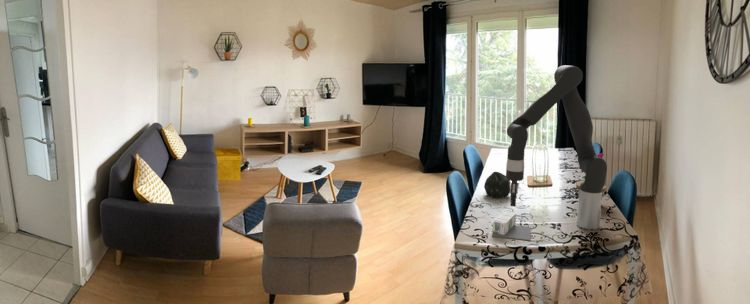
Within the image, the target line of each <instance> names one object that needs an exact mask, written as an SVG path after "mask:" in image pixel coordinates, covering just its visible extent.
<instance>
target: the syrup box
mask: <svg viewBox="0 0 750 304" xmlns="http://www.w3.org/2000/svg"><path fill="white" fill-rule="evenodd" d="M516 219H517V213H515V212H510V211H503V212H502V213H501V214H500V215H499V216H497V217H496V218H494V219H493V220H492V221H493V222H492V233H497V234H501V235H505V234H506V233H507V232H508V231H509V230H510V229H511V228H512V227H513V226H514V225H516Z"/></svg>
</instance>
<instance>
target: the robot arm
mask: <svg viewBox="0 0 750 304" xmlns="http://www.w3.org/2000/svg"><path fill="white" fill-rule="evenodd" d="M553 75H554V77H553V79H554V82H555V84H554V85H553V86H552V87H551V88H550V89H549V90H548V91H547V92H546V93H543V95H541V96H540V97H539V98H537V99H536V100H535V101H534V102H533V103H531V104H530V105H529V107H528V108H527V109H526V110H525V111H524V112H523V113H522V114H520V115H519V116H518V117H516V119H514V120H513V121H512V122H511V123H510V124H509V126H508V127H507V129H506V134H507V137H509V138H510V139H511V141H510V145H509V146H508V148H507V158H506V168H505V176H506V179H508V180H510V181H511V182H510V185H509V187H510V193H509V195H510V196H509V198H510V207H516V204H517V196H518V194H519V193H518V192H519V188H520V182H521V181H524V173H525V150H526V145H527V142H528V137H529V133H528V128H530V127H531V126H535V125H537V124H538V122H540V120H542V118H543V117H544V116H545V115H546V114H547V113H548V111H550V110H551V109H552V108H553V107H554V106H555V105H556V104H557V103H558V102H559V101H560V100H562V104H563V107H564V112H565V116H566V119H567V123H568V127H569V130H570V133H571V137H572V138H573V142H574V146H575V149H576V155H577V160H578V166H579V168H580V170H581V172H583V173H584V176H585V179H584V182H582V183H581V184H580V192H579V195H578V205H577V215H576V216H577V217H576V226H577V225H578V226H577V227H578V228H581V227H582V228H581V229H584V228H586V229H585V230H591V229H593V230H596V229H595V228H599V229H600V226H601V225H600V224H601V215H602V207H601V206H602V201H601V198H602V199H603V197H602V189H603V187H604V185H606V179H607V173H608V172H607V171H608V164H607V162H606V160H605V159H603V157H602V158H600V157H598V156H597V155H598V154H597V153H596V151H595V147H594V145H593V132H594V125H593V121H592V117H591V115H590V111H589V109H588V107H587V106H586V104H585V102H584V101H583V100H582V98H581V96H580V93H579V91H578V88H577V86H578V85H579V84H581V82H582V81H583V76H584V75H583V71H582V69H580V67H577V66H576V65H575V66H574V65H566V64H565V65H560V66H559V67H557V68H556V69H555V72H554V74H553Z"/></svg>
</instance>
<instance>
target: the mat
mask: <svg viewBox="0 0 750 304" xmlns="http://www.w3.org/2000/svg"><path fill="white" fill-rule="evenodd" d="M491 234H492V235H491V237H492V238H500V239H501V238H502V239H509V240H510V239H512V240H519V241H520V240H521V241H527V242H528V241H529V242H531V226H524V225H516V224H515V225H514V226H513V227H512V228H511V229H510V230H509V231H508V232H507V233H506V234H505V235H501V234H497V233H493V232H492V233H491Z"/></svg>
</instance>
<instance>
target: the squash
mask: <svg viewBox="0 0 750 304" xmlns="http://www.w3.org/2000/svg"><path fill="white" fill-rule="evenodd" d="M485 179H486V180H485V182H484V186H483V187H484V190H485V194H486V195H487V196H488V197H491V198H499V199H503V198H507V197H508V196H509V195H510V187H509V185H510V182H512V181H511V180H508V179H506V174H504V173H501V172H499V171H493V172H491V174H490V175H488V176H487V177H486V178H485Z"/></svg>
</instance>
